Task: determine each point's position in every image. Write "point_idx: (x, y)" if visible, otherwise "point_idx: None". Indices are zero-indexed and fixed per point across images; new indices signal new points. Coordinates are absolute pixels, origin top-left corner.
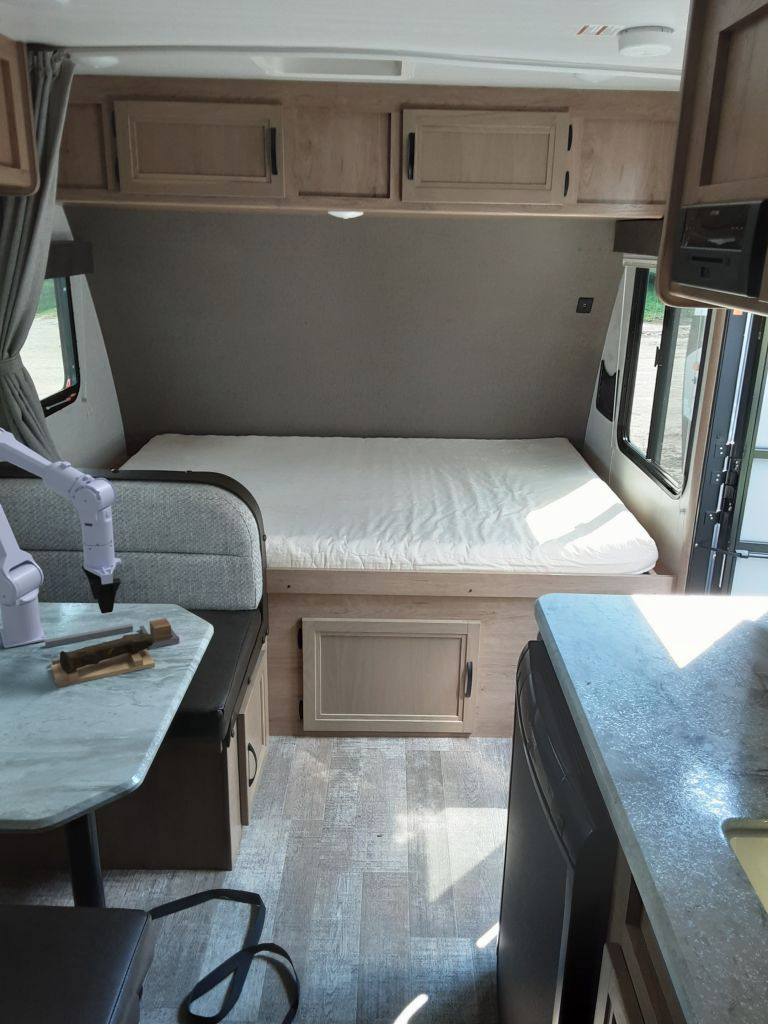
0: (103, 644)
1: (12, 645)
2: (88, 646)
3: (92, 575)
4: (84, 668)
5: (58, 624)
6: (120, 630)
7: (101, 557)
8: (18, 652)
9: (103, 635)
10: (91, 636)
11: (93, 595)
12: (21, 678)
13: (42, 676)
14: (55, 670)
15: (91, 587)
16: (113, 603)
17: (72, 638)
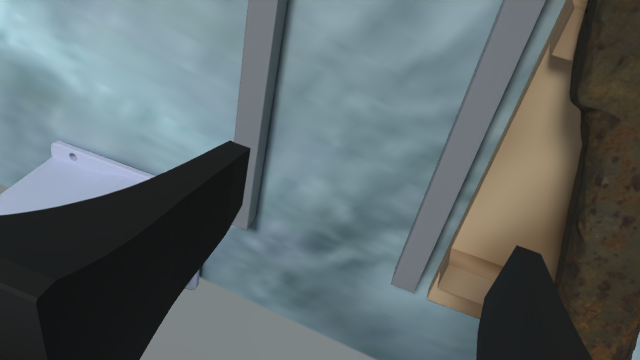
0: (615, 258)
1: (197, 275)
2: (579, 316)
3: (125, 350)
4: (557, 253)
5: (79, 93)
6: None
7: None
8: (241, 276)
9: (283, 20)
10: (272, 74)
11: (226, 230)
12: (422, 355)
13: (459, 324)
14: (479, 311)
15: (188, 279)
16: (566, 310)
17: (259, 148)
